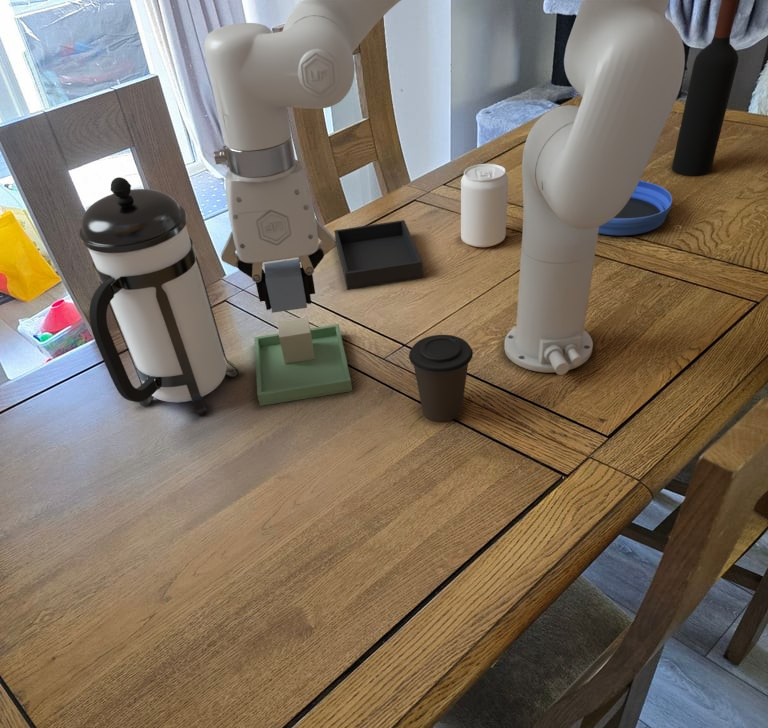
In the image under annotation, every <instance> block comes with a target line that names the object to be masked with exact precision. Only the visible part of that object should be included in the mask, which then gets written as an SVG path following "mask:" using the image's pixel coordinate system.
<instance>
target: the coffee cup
mask: <svg viewBox="0 0 768 728" xmlns="http://www.w3.org/2000/svg"><path fill="white" fill-rule="evenodd" d="M473 354H474V351H473V349H472V347H471V345H470V344H469V343H468V342H467V341H466V340H465V339H463V338H461V337H459V336H456V335H451V334H434V335H429V336H427V337H426V336H425V337H424V338H421V339H419V340H418V341H417V342H415V344H413V346H412V348H410V350H409V353H408V359H409V361H410V364H412V365H413V370H414V374H415V378H416V379H415V380H416V385H417V390H418V396H419V400H420V407H421V411H422V414H423V416H424V417H425V418H426V419H428V420H429V421H432V422H435V423H436V422H437V423H446V422H452V421H454V420H455V419H457V418H458V417H459V416H460V415H462V414H461V413H462V411H463V404H464V399H465V390H466V382H467V375H468V370H469V369H468V368H469V364H470V362H471V360H472V359H473V357H474V355H473Z"/></svg>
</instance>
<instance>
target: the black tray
mask: <svg viewBox="0 0 768 728" xmlns="http://www.w3.org/2000/svg"><path fill="white" fill-rule="evenodd" d="M334 238H335V241H336V245H335V247H336V250H337V254H338V258H339V262H340V266H341V270H342V274H343V278H344V282H345V286H346V290H352V289H358V288H366V287H371V286H378V285H379V286H380V285H385V284H391V283H398V282H404V281H411V280H417V279H423V278H424V277H423V276H424V273H423V272H424V271H423V260H422V259H421V256H420V253H419V250H418V248H417V247H416V244H415V242H414V240H413V237H412V235H411V232H410V230H409V228H408V225H407V223H406V220H405V219H401V220H395V221H389V222H380V223H375V224H367V225H361V226H354V227H349V228H347V227H346V228H342V229H335V230H334Z"/></svg>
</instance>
